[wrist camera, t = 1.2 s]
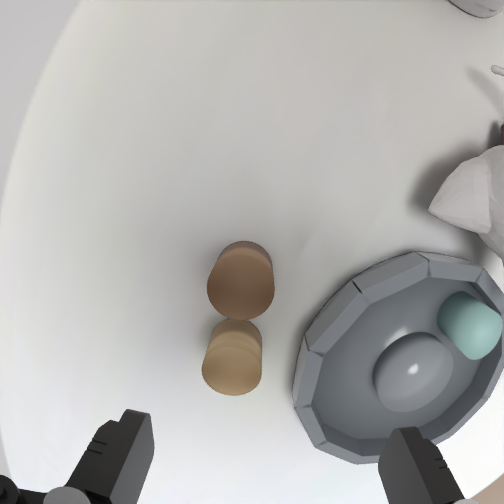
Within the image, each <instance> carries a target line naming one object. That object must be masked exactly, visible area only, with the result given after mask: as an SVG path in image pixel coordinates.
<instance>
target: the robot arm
mask: <svg viewBox="0 0 504 504" xmlns="http://www.w3.org/2000/svg"><path fill="white" fill-rule="evenodd" d="M450 1H451V2H452V3H454V4H455V5H456V6H458V7H459V8H461V9H462V10H464V11H466V12H467V13H470V14H472V15H474V16H477V17H482V18H489V17H492V16H494V15H496V14H497V13H499V12H501V11H503V10H504V0H450ZM153 455H154V439H153V431H152V424H151V416H150V414H149V413H144V412H139V411H135V410H130V409H126V410H125V412H124V413H123V415H122V417H121V419H120V421H119V422H116V421H113V420H109V421H108V422H106V423H105V424H104V425H102V426H101V427H100V428H98V430H97V432H96V433H95V435H94V437H93V438H92V442H90V444H89V445H88V447H87V450H86V451H85V452H84V454H83V456H82V457H81V459H80V461H79V463H78V464H77V466H76V468H75V470H74V471H73V473H72V475H71V477H70V479H69V480H68V482H67V483H66V484H65V485H64V486H63V487H57V488H55V489H53V490H51V491H50V492H48V493H41V492H35V491H29V490H24V489H18V488H17V486H16V485H15V483H14V482H13V481H12V480H11V479H9V478H8V477H6V476H3V475H0V504H137V501H138V498H139V496H140V493H141V490H142V487H143V484H144V482H145V479H146V476H147V473H148V470H149V468H150V465H151V462H152V459H153ZM378 471H379V474H380V477H381V480H382V483H383V486H384V489H385V493H386V496H387V499H388V502H389V504H480V503H478V502H476V501H474V500H471V499H465V498H464V496H463V494H462V492H461V490H460V488H459V486H458V484H457V483H456V481H455V479H454V477H453V475H452V473H451V471H450V469H449V468H447V464H446V462H445V460H443V456H442V454H441V453H440V451H439V449H438V447H437V446H436V445H435V444H433V443H432V442H431V441H430V440H429V439H428V438H426V439H423V437H422V435H421V433H420V431H419V430H418V428H417V427H415V426H412V427H403V428H395V429H394V430H393V431H392V433H391V435H390V437H389V439H388V441H387V443H386V445H385V447H384V449H383V451H382V453H381V455H380V457H379V461H378Z"/></svg>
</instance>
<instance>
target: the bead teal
mask: <svg viewBox="0 0 504 504" xmlns="http://www.w3.org/2000/svg"><path fill="white" fill-rule="evenodd" d="M437 324H438V327H439V329H440V330H441V332H442V333H443V334H444V335H445V336H446V337H447V338H448V339H450V340H451V341H452V342H453V343H454V344H455V345H456V347H457V348H458V349H459V350H460V351H461V352H462V353H463V354H464V355H465V356H466V357H467V358H469V359H472V360H477V359H480V358H482V357H484V356H486V355H487V354H488V353H489V352H490V351H491V350H492V349H493V348H494V347H495V345H496V344H497V342H498V340H499V338H500V336H501V333H502V327H503V323H502V318H501V316H500V315H499V314H498V313H497V312H495V311H494V310H492V309H491V308H489V307H488V306H486V305H485V304H484V303H482V302H481V301H479V300H478V299H476V298H475V297H473V296H472V295H470V294H469V293H467V292H464V291H458V292H455V293H453V294H452V295H450V296H449V297H448V298H447V299H446V300H445V301H444V302H443V304H442V305H441V307H440V309H439V312H438V317H437Z"/></svg>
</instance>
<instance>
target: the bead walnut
mask: <svg viewBox="0 0 504 504" xmlns="http://www.w3.org/2000/svg"><path fill="white" fill-rule="evenodd" d="M274 290H275V289H274V278H273V268H272V262H271V259H270V256H269V255H268V253H267V252H266V251H265V250H264V249H263V248H262V247H261V246H259V245H258V244H256V243H253V242H249V241H240V242H236V243H233V244H231V245H229V246H228V247H226V248H225V249H224V250H223V252H222V253H221V254H220V256H219V258H218V260H217V262H216V264H215V266H214V268H213V270H212V272H211V274H210V276H209V279H208V283H207V293H208V297H209V300H210V302H211V304H212V305H213V306H214V308H215V309H216V310H217V311H218V312H219V313H221V314H222V315H224V316H226V317H228V318H231V319H234V320H249V319H252V318H255V317H257V316H259V315H261V314H262V313H263V312H265V311H266V310H267V309H268V307H269V306H270V304H271V302H272V300H273V297H274Z"/></svg>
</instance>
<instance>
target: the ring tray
mask: <svg viewBox="0 0 504 504" xmlns="http://www.w3.org/2000/svg"><path fill="white" fill-rule="evenodd" d="M458 291H464V292H467V293H469V294H470V295H472V296H473V297H475V298H476V299H478V300H479V301H481V302H482V303H484V304H485V305H486V306H488V307H489V308H491V309H492V310H494V311H495V312H497V313H498V314H499V315H500V316H501V318H502V323H503V327H502V333H501V336H500V338H499V340H498V342H497V344H496V345H495V347H494V348H493V349H492V350H491V351H490V352H489V353H488V354H487V355H486V356H484V357H482V358H480V359H477V360H472V359H469V358H467V357H466V356H465V355H464V354H463V353H462V352H461V351H460V350H459V349H458V348H457V347H456V345H455V344H454V343H453V342H452V341H451V340H450V339H448V338H447V337H446V336H445V335H444V334H443V333H442V332H441V330H440V329H439V327H438V324H437V317H438V312H439V309H440V307H441V305H442V304H443V302H444V301H445V300H446V299H447V298H448V297H449V296H450V295H452V294H453V293H455V292H458ZM503 368H504V294H503V292H502V291H501V290H500V288H499V287H498V286H497V284H496V283H495V282H494V280H493V279H492V278H491V276H490V275H489V274H488V273H487V271H486V270H485V269H484V268H483V267H481V266H479V265H477V264H475V263H473V262H471V261H469V260H467V259H462V258H456V257H451V256H448V255H444V254H439V253H430V252H416V251H415V252H412V253H409V254H405V255H401V256H396V257H393V258H391V259H388V260H385V261H383V262H380V263H378V264H376V265H374V266H372V267H370V268H368V269H367V270H365V271H363V272H362V273H360V274H359V275H357V276H356V277H354V278H353V279H351V280H350V281H349V282H348V283H346V284H345V285H344V286H343V287H342V288H341V289H339V290H338V291H337V292H336V293H335V294H334V295H333V296H332V297H331V298H330V299H329V301H328V302H327V303H326V304H325V305H324V306H323V308H322V309H321V310H320V312H319V313H318V314H317V315H316V317H315V318H314V320H313V322H312V323H311V325H310V327H309V328H308V330H307V332H306V333H305V335H304V337H303V341H302V344H301V346H300V350H299V353H298V357H297V362H296V370H295V379H294V383H293V388H292V392H293V400H294V408H295V411H296V413H297V414H298V416H299V418H300V420H301V422H302V424H303V426H304V428H305V430H306V432H307V434H308V436H309V438H310V440H311V442H312V444H313V445H314V447H315V448H317V449H319V450H321V451H324V452H326V453H328V454H331V455H333V456H336V457H338V458H340V459H343V460H345V461H348V462H350V463H353V464H369V463H378V461H379V457H380V455H381V453H382V451H383V449H384V447H385V445H386V443H387V441H388V439H389V437H390V435H391V433H392V431H393V430H394V429H395V428H403V427H412V426H415V427H417V428H418V430H419V431H420V433H421V435H422V437H423V439H426V438H428V439H429V440H430V441H431V442H432V443H433V444H435V445H436V444H438V443H440V442H442V441H444V440H446V439H448V438H450V437H451V436H452V435H454V434H455V433H456V432H457V431H458V430H459V429H460V428H461V427H462V426H463V425H464V424H465V423H466V422H467V421H468V420H469V419H470V418H471V417H472V416H473V415H474V414H475V413H476V412H477V411H478V410H479V409H480V408H481V407H482V406H483V405H484V403H485V402H486V401H487V400H488V398H490V396H491V394H492V392H493V390H494V388H495V386H496V384H497V381H498V379H499V377H500V375H501V373H502V371H503Z"/></svg>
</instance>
